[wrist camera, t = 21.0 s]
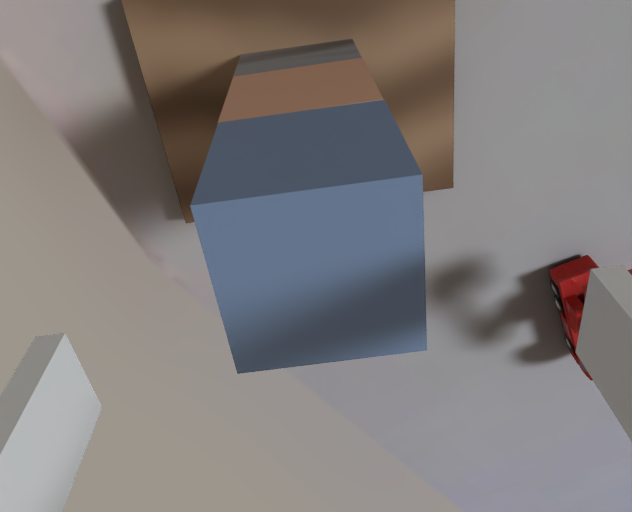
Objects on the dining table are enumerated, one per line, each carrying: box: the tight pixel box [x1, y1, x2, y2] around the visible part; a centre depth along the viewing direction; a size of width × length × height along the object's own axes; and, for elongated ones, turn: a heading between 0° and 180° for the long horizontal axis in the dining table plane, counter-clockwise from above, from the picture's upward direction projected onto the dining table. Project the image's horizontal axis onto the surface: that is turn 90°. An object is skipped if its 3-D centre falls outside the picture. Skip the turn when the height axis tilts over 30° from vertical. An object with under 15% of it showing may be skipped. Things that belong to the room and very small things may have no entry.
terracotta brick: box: [217, 58, 383, 124], centre depth 25 cm, size 6×6×7 cm
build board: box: [121, 0, 455, 223], centre depth 31 cm, size 14×18×6 cm
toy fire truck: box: [549, 255, 632, 380], centre depth 39 cm, size 3×14×10 cm, turn 24°
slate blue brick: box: [190, 99, 427, 373], centre depth 20 cm, size 6×6×7 cm
